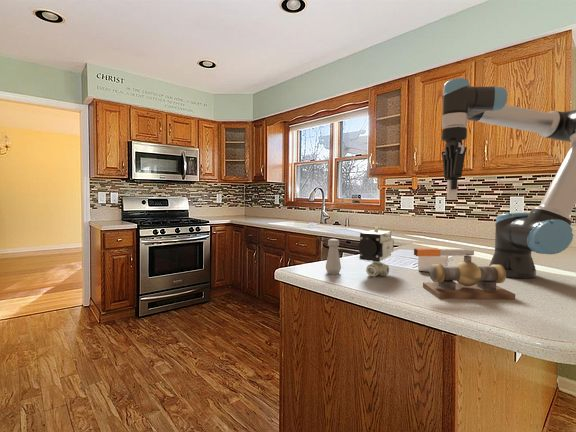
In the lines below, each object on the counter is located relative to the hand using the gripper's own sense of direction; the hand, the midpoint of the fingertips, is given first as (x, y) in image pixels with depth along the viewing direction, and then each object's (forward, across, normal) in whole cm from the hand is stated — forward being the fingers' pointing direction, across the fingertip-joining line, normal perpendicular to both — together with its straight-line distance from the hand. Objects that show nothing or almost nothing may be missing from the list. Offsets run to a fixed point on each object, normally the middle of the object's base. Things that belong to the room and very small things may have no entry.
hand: (451, 199), depth 115 cm
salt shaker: (+29, +12, +38) cm, 49 cm away
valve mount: (+28, -12, 0) cm, 31 cm away
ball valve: (+29, +10, +22) cm, 37 cm away
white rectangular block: (+29, +18, -2) cm, 34 cm away
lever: (+17, -12, +7) cm, 22 cm away
